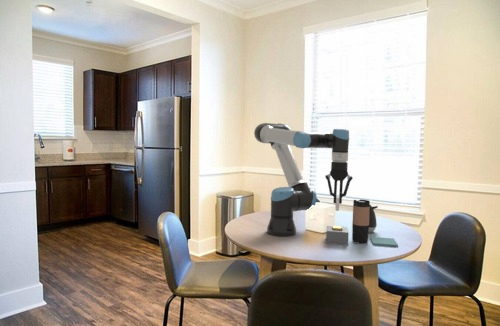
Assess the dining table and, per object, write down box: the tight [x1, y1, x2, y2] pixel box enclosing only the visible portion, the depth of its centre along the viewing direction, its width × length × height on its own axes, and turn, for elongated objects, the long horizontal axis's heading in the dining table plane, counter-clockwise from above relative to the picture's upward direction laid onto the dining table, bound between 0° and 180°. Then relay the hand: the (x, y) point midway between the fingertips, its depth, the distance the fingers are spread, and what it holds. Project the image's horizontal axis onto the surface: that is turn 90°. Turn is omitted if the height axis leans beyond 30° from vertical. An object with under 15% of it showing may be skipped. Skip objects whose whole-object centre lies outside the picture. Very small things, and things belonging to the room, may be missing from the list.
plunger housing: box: [325, 225, 349, 246], centre depth 168 cm, size 10×10×6 cm
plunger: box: [332, 225, 343, 231], centre depth 168 cm, size 4×4×6 cm
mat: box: [370, 236, 399, 248], centre depth 167 cm, size 11×11×1 cm
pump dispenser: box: [368, 204, 378, 234], centre depth 186 cm, size 10×10×15 cm
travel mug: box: [351, 199, 371, 245], centre depth 168 cm, size 8×8×20 cm
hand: (337, 210), depth 167 cm, fingers closed
